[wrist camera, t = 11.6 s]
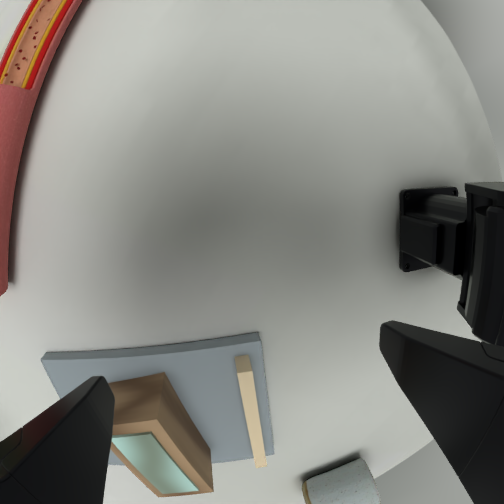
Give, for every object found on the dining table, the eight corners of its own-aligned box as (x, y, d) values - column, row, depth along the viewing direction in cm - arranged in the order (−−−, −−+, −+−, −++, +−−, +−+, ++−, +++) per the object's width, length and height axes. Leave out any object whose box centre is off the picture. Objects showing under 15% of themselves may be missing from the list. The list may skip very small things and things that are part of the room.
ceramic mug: (293, 473, 27) (310, 524, 20) (358, 447, 27) (384, 494, 20) (310, 500, 30) (324, 540, 23) (363, 478, 31) (383, 516, 23)
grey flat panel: (258, 332, 21) (266, 356, 18) (272, 445, 25) (278, 469, 22) (46, 352, 19) (30, 373, 16) (105, 456, 23) (99, 477, 20)
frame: (164, 372, 20) (156, 422, 15) (210, 449, 23) (213, 494, 17) (108, 382, 19) (90, 429, 14) (161, 456, 22) (158, 499, 17)
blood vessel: (144, -109, 9) (140, -135, 4) (187, -110, 10) (188, -138, 5) (-21, 268, 17) (-55, 287, 12) (18, 285, 18) (-16, 309, 13)
